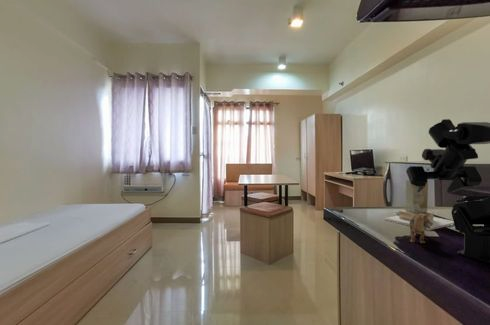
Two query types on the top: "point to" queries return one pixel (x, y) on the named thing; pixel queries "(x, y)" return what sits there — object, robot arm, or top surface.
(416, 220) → the lion figurine
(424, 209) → the skincare box
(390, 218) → the build plate
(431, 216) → the oak pedestal
